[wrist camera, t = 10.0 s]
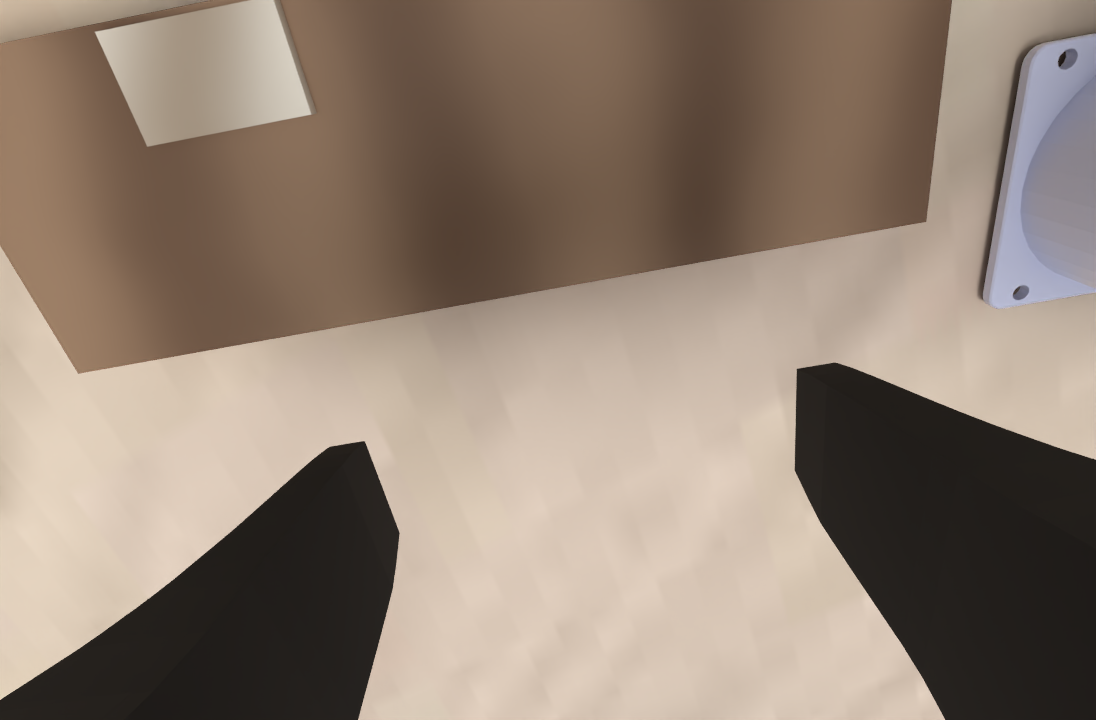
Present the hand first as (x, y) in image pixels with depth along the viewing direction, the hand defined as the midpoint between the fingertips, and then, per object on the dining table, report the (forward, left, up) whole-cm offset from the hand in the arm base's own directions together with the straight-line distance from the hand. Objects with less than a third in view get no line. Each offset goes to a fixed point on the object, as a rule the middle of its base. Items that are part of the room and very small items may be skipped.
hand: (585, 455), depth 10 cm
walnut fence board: (+2, -4, -10) cm, 11 cm away
